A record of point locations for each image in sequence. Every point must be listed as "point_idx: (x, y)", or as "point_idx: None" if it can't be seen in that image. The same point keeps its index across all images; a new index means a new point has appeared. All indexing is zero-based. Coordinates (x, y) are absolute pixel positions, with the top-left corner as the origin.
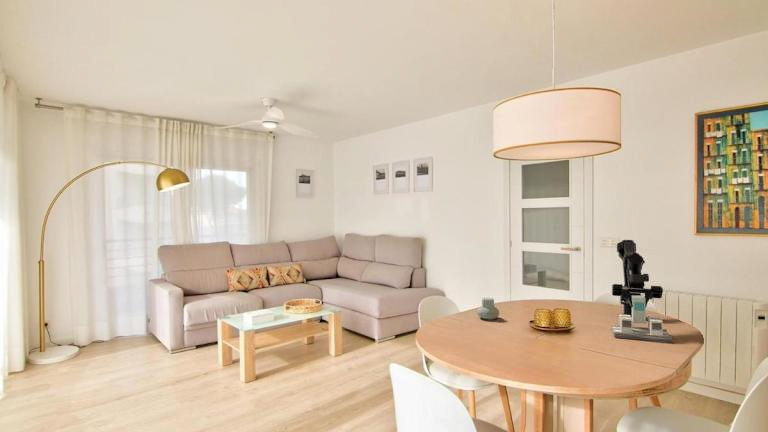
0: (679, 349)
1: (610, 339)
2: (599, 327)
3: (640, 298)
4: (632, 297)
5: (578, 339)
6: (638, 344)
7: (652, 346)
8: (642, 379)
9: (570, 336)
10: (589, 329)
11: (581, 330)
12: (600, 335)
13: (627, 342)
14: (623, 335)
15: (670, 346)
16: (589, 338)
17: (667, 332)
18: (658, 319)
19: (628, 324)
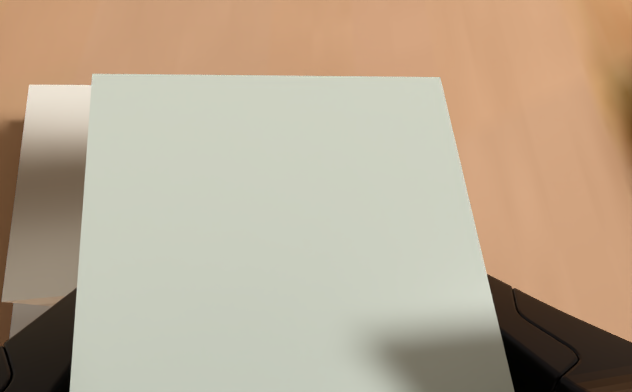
0: (52, 2)
1: (422, 70)
2: None
3: (241, 90)
4: (446, 165)
5: (554, 19)
6: (277, 26)
7: (203, 13)
8: None
9: (602, 56)
10: (574, 250)
11: (603, 201)
12: (484, 131)
13: (333, 44)
14: None
15: (92, 43)
16: (518, 52)
17: (14, 305)
18: (50, 165)
19: None
